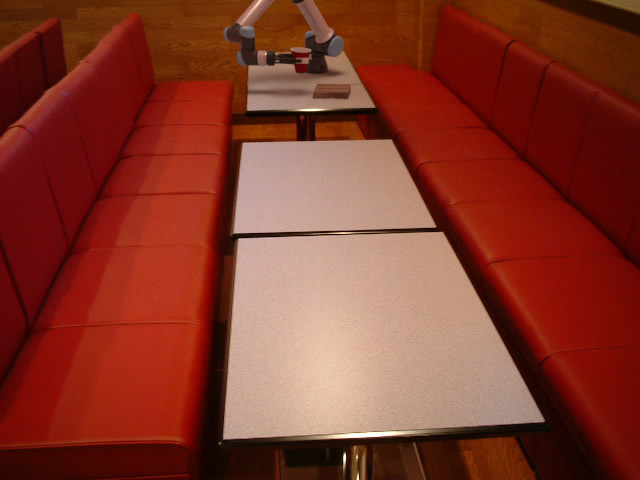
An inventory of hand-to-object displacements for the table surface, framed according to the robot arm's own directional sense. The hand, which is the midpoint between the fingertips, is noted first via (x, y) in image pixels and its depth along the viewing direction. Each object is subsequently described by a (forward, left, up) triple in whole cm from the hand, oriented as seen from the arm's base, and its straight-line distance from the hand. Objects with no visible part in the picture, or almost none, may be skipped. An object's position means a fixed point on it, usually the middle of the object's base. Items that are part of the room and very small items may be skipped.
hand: (309, 58), depth 328 cm
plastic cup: (0, -5, -7) cm, 9 cm away
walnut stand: (+1, +12, -18) cm, 21 cm away
